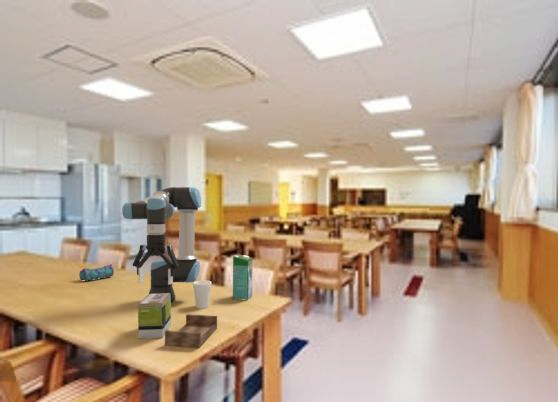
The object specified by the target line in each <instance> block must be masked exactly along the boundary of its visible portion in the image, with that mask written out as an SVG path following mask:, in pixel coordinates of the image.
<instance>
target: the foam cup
mask: <svg viewBox="0 0 558 402" xmlns="http://www.w3.org/2000/svg"><path fill="white" fill-rule="evenodd" d="M192 284H193V291H194V300H195V301H194V302H195V307H196V308H197V309H204V310H205V309H207V308H209V303H210V296H211V291H212V281H210V280H204V279H203V280H196V281H195V282H192Z"/></svg>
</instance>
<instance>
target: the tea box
mask: <svg viewBox="0 0 558 402" xmlns="http://www.w3.org/2000/svg"><path fill="white" fill-rule="evenodd" d="M171 305H172V302H171V296H170V293H162V294H149V293H148V294H147V295H146V296H145V297H144V298H143V299H142V300H141V301H139V302H138V304H137V319H138V320H137V321H138V322H137V327H138V329H137V332H138V333H137V335H138V338H137V339H160V338H162V339H163V338H164V337H165V331H166V330H169V328H170V327H171V325H172V311H171V309H172V306H171Z"/></svg>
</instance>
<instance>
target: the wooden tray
mask: <svg viewBox="0 0 558 402" xmlns="http://www.w3.org/2000/svg"><path fill="white" fill-rule="evenodd" d="M217 329H218V316H217V315H210V314H209V315H208V314H207V315H206V314H190V313H188V314H186V315H185V324H184V325H183V326H182V327H180V328H179V330H169V329H168V330H166V331H165V334H164V346H166V347H177V348H178V347H180V348H189V349H190V348H194V349H200V348H201V347H202V346H203V345H204V344H205V343H206V342H207V340H208V339H209V338H210V337H211V336H212V335H213V333H214V332H215V331H216V330H217Z"/></svg>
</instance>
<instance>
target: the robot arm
mask: <svg viewBox="0 0 558 402" xmlns="http://www.w3.org/2000/svg"><path fill="white" fill-rule="evenodd" d="M201 195H202V194H201V192H200V190H199V188H198V187H193V186H191V187H190V186H189V187H187V186H185V187H184V186H181V187H179V186H178V187H176V186H174V187H173V186H171V187H166V188H163V189H160V190H157V191H154V193H152V195H151V196H148V197H145V198H144V199H141V200H138V201H135V202H126V203H124V204H123V206H122V208H121V211H122V212H121V213H122V217H123V218H124V219H126V220H146V233H147V235H146V244H140V245H139V249H138V252H137V253H136V256H135V258H134V260H133V262H132V266H133V267H136V274H137V276H138V277H137V278H138V281H137V283H138V284H142V283H144V276H145V275H144V272H145V270H144V269H145V268H144V266H143V265H145V263H146V262H147V260H148V259H149V258H150V257H153V256H156V257H160V258H161V259H158V260H154V261H152V262H151V264H150V289H149V292H148V294H162V293H170V296H171V303H172V302H175V301H176V293H175V290H174V287H173V283H187V284H188V283H194V282H196V281H198V280H197V279H198V277H199V274H200V268H201V263H200V261H198V259H197V256H195V233H196V232H195V229H196V214H197V212H198V211H199V208H201V207H202V196H201ZM175 208H176V210H175ZM176 211H177V212H178V213H179V227H178V228H179V230H178V256H176V255H175V253H174V252H175V251H174V250H173V245H172V244H170V245H166V234H165V233H166V220H169V219H171V218H173V217H174V216H175V212H176ZM145 250H147V251H146V253H145ZM165 250H166V251H167V252H166V251H165ZM144 253H145V254H144ZM167 254H168V255H167ZM143 255H144V256H143Z"/></svg>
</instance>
